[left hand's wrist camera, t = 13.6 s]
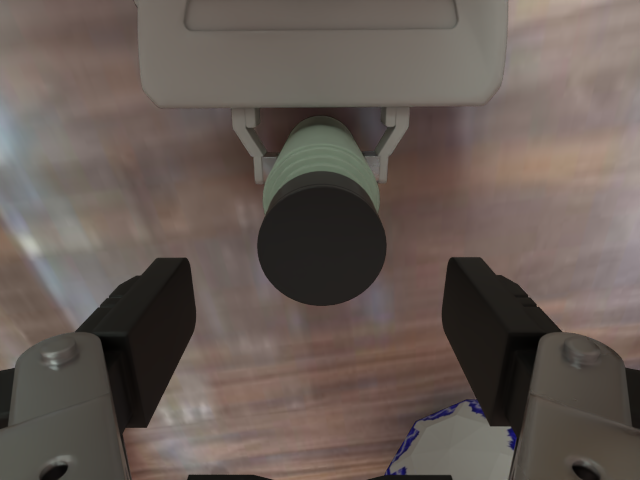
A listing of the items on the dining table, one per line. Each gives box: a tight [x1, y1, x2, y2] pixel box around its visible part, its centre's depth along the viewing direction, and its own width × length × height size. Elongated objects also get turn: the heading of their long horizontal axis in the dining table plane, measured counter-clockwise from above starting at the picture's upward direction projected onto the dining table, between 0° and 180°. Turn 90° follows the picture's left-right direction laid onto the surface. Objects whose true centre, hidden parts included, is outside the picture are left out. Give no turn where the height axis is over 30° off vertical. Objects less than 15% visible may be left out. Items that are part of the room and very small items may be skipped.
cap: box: [257, 171, 386, 306], centre depth 15 cm, size 4×4×2 cm
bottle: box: [263, 116, 380, 215], centre depth 23 cm, size 5×5×19 cm
